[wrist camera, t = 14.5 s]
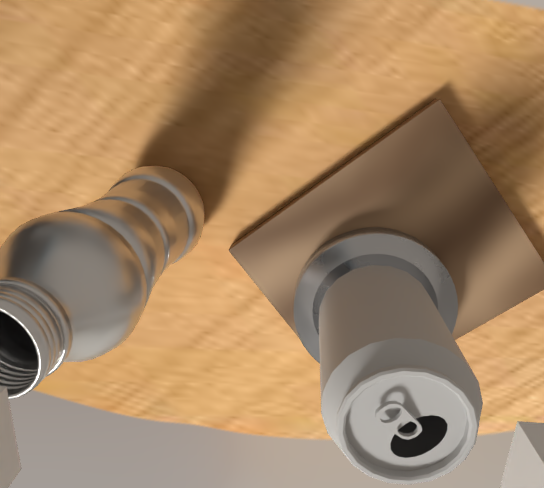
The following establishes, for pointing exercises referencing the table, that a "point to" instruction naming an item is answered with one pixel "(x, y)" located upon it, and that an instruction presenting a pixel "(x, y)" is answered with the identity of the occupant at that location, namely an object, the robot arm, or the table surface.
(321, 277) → the grey hollow ring
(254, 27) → the table surface
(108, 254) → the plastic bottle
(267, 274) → the board
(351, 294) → the can
